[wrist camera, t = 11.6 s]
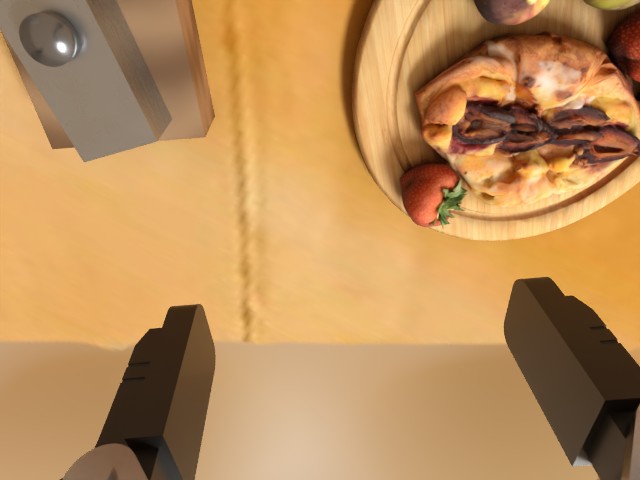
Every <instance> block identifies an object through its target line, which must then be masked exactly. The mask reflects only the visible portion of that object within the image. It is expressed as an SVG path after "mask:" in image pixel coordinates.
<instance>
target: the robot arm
mask: <svg viewBox="0 0 640 480" xmlns="http://www.w3.org/2000/svg"><path fill="white" fill-rule="evenodd" d="M504 334H505V339H506V342H507V345H508V347H509V349H510V351H511V353H512V354H513V356H514V358H515V360H516V362H517V364H518V366H519V368H520V369H521V371H522V373H523V375H524V377H525V379H526V381H527V382H528V384H529V386H530V388H531V390H532V392H533V394H534V396H535V397H536V399H537V401H538V403H539V405H540V407H541V409H542V411H543V412H544V414H545V416H546V418H547V420H548V422H549V424H550V426H551V427H552V429H553V431H554V433H555V435H556V436H557V439H558V441H559V442H560V444H561V446H562V448H563V450H564V452H565V454H566V456H567V457H568V459H569V461H570V463H571V465H572V466H584V465H593V467H594V469H595V470H596V472H597V474H598V478H597V480H640V367H639V365H638V364H637V363H636V362H635V360H634V359H633V358H632V357H631V355H630V354H629V353H628V352H627V351H626V349H625V348H624V347H623V346H622V344H621V343H618V342H617V338H616V337H615V336H614V335H613V333H612V332H611V331H610V330H609V329H607V328H606V325H605V324H604V322H603V321H602V320H601V319H600V318H599V316H598V315H597V314H596V313H595V312H594V310H593V309H592V308H590V307H589V306H587V305H586V304H584V303H583V302H581V301H580V300H578V299H577V298H575V297H574V296H565V295H564V294H563V293H562V292H561V290H560V289H559V288H558V286H557V285H556V284H555V282H554V281H553V280H552V279H551V278H549V277H541V278H529V279H518V280H516V281H515V282H514V285H513V288H512V292H511V296H510V300H509V304H508V308H507V313H506V317H505V321H504ZM128 365H129V366H128V367H127V368H126V371H125V373H124V376H123V378H122V380H123V381H122V383H120V386H119V389H118V391H117V394H116V396H115V399H114V401H113V404H112V406H111V409H110V412H109V414H108V417H107V419H106V422H105V424H104V427H103V430H102V432H101V435H100V437H99V440H98V442H97V444H96V446H95V448H94V449H92V450H91V451H89V452H87V453H86V454H84V455H83V456H82V457H80V458H79V459H78V460H77V461H76V462H75V463H74V464H73V465H72V466H71V467H70V468H69V470H68V471H67V473H66V474H65V476H64V478H62V479H60V480H194V479H195V474H196V468H197V463H198V458H199V452H200V447H201V441H202V436H203V430H204V425H205V419H206V414H207V409H208V403H209V397H210V392H211V386H212V381H213V375H214V370H215V348H214V343H213V340H212V336H211V333H210V329H209V326H208V322H207V319H206V315H205V312H204V309H203V306H202V305H201V304H196V305H183V306H172V307H170V308H169V310H168V312H167V315H166V318H165V321H164V324H163V327H162V328H155V329H149V331H148V332H147V333H146V334H145V335H144V336H143V337H142V338H141V340H140V341H139V342H138V343H137V344H136V345H135V348H134V350H133V353H132V355H131V358H130V361H129V363H128Z"/></svg>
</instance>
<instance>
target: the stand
mask: <svg viewBox="0 0 640 480" xmlns="http://www.w3.org/2000/svg"><path fill="white" fill-rule="evenodd" d="M117 3H118V5H119V7H120V9H121V11H122V13H123V15H124V17H125V19H126V22H127V24H128V26H129V28H130V30H131V32H132V34H133V36H134V39H135V41H136V43H137V45H138V47H139V49H140V51H141V53H142V55H143V58H144V60H145V62H146V64H147V66H148V68H149V70H150V72H151V75H152V77H153V79H154V81H155V83H156V85H157V87H158V89H159V91H160V94H161V96H162V98H163V100H164V102H165V104H166V106H167V108H168V111H169V113H170V115H171V117H172V121H171V122H170V124H169V125H168V127H167V128H166V130H165V131H164V133H163V134H162V135H161V137H160V138H159V140H158V141H162V140H175V139H187V138H200V137H206V135H207V132H208V130H209V128H210V126H211V124H212V121H213V119H214V117H215V115H214V110H213V105H212V100H211V95H210V90H209V85H208V80H207V75H206V70H205V65H204V60H203V55H202V50H201V45H200V40H199V35H198V30H197V25H196V20H195V15H194V10H193V5H192V1H191V0H117ZM2 33H3V32H2ZM3 36H4V38H5V40H6V43H7V45H8V47H9V49H10V52H11V54H12V56H13V59H14V61H15V63H16V66H17V68H18V70H19V73H20V75H21V77H22V80H23V82H24V84H25V86H26V89H27V91H28V93H29V96H30V98H31V100H32V103H33V105H34V107H35V110H36V112H37V114H38V117H39V119H40V121H41V123H42V126H43V128H44V130H45V133H46V135H47V137H48V140H49V142H50V144H51V147H52V149H59V148H72V147H74V145H73V144H72V142H71V141H70V139H69V137H68V136H67V134H66V133H65V131H64V129H63V128H62V126H61V125H60V123H59V122H58V120H57V118H56V117H55V115H54V114H53V112H52V110H51V109H50V107H49V106H48V104H47V102H46V101H45V99H44V98H43V96H42V94H41V93H40V91H39V90H38V88H37V86H36V85H35V83H34V82H33V80H32V78H31V77H30V75H29V74H28V72H27V70H26V69H25V67H24V66H23V64H22V63H21V61H20V59H19V58H18V56H17V55H16V53H15V51H14V50H13V48H12V47H11V45H10V43H9V42H8V40H7V39H6V37H5V35H4V34H3Z"/></svg>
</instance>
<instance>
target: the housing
mask: <svg viewBox="0 0 640 480" xmlns="http://www.w3.org/2000/svg"><path fill="white" fill-rule="evenodd" d="M0 29H1V31H2V32H3V34H4V35H5V37H6V39H7V40H8V42H9V43H10V45H11V47H12V48H13V50H14V51H15V53H16V55H17V56H18V58H19V59H20V61H21V63H22V64H23V66H24V67H25V69H26V70H27V72H28V74H29V75H30V77H31V78H32V80H33V82H34V83H35V85H36V86H37V88H38V90H39V91H40V93H41V94H42V96H43V98H44V99H45V101H46V102H47V104H48V106H49V107H50V109H51V110H52V112H53V114H54V115H55V117H56V118H57V120H58V122H59V123H60V125H61V126H62V128H63V129H64V131H65V133H66V134H67V136H68V137H69V139H70V141H71V142H72V144H73V145H74V147H75V149H76V150H77V152H78V153H79V155H80V157H81V158H82V160H83V161H84V162H87V161H90V160H94V159H97V158H101V157H104V156H108V155H111V154H115V153H118V152H122V151H125V150H129V149H132V148H136V147H139V146H143V145H146V144H150V143H153V142H157V141H158V140H159V138H160V137H161V135H162V134H163V133H164V131H165V130H166V128H167V127H168V125H169V124H170V122H171V121H172V117H171V115H170V113H169V111H168V108H167V106H166V104H165V102H164V100H163V98H162V96H161V94H160V91H159V89H158V87H157V85H156V83H155V81H154V79H153V77H152V75H151V72H150V70H149V68H148V66H147V64H146V62H145V60H144V58H143V55H142V53H141V51H140V49H139V47H138V45H137V43H136V41H135V39H134V36H133V34H132V32H131V30H130V28H129V26H128V24H127V22H126V19H125V17H124V15H123V13H122V11H121V9H120V7H119V5H118V3H117V0H0Z"/></svg>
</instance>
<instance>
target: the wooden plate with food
mask: <svg viewBox="0 0 640 480" xmlns="http://www.w3.org/2000/svg"><path fill="white" fill-rule="evenodd" d="M352 114H353V123H354V129H355V134H356V138H357V142H358V145H359V148H360V151H361V154H362V157H363V159H364V162H365V164H366V166H367V168H368V170H369V172H370V174H371V176H372V177H373V179H374V181H375V182H376V184H377V185H378V186H379V188H380V189H381V190H382V191H383V192H384V194H385V195H386V196H387V197H388V198H389V200H390V201H391V202H392V203H393V204H394V205H395V206H397V207H398V208H399V209H400V210H401V211H403V212H404V213H405V214H406V215H408V216H409V217H411V219H412V220H413V222H415V223H416V224H417V225H420V226H423V227H428V228H430V229H433V230H435V231H438V232H441V233H445V234H448V235H451V236H454V237H459V238H464V239H471V240H480V241H500V240H512V239H519V238H525V237H531V236H535V235H539V234H542V233H546V232H549V231H553V230H556V229H559V228H561V227H564V226H566V225H569V224H571V223H573V222H576V221H578V220H580V219H582V218H584V217H586V216H588V215H590V214H592V213H593V212H595V211H597V210H599V209H600V208H602V207H604V206H606V205H607V204H609V203H610V202H612V201H613V200H615V199H617V198H618V197H619V196H621V195H622V194H624V193H625V192H627V191H628V190H629V189H631V188H632V187H633V186H634V185H636V184H637V183H638V182H639V181H640V0H373V2H372V5H371V7H370V10H369V12H368V15H367V18H366V21H365V24H364V27H363V30H362V33H361V36H360V39H359V42H358V47H357V52H356V57H355V62H354V70H353V78H352Z"/></svg>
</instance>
